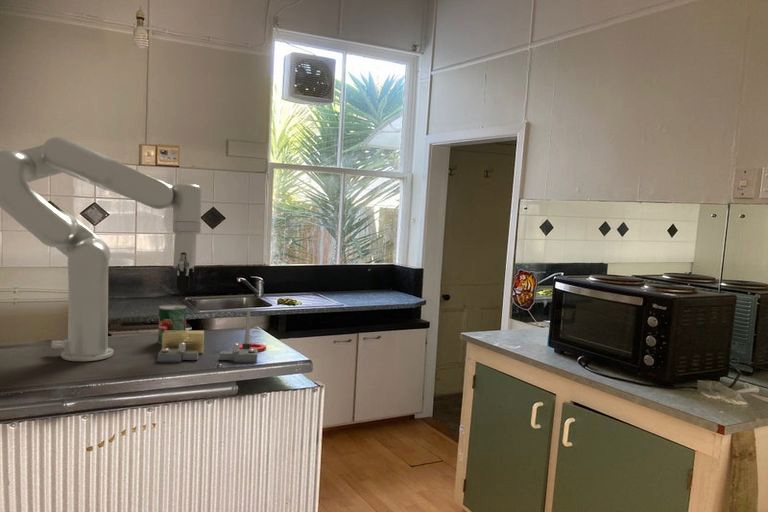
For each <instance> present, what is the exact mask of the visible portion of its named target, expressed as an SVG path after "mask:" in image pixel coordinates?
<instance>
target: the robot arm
mask: <svg viewBox="0 0 768 512" xmlns="http://www.w3.org/2000/svg"><path fill="white" fill-rule="evenodd" d="M62 173H63V174H66V175H68V176H71V177H73V178H75V179H78V180H80V181H83V182H85V183H88V184H90V185H92V186H95V187H97V188H100V189H102V190H104V191H108V192H113V193H115V194H117V195H118V194H119V195H121V196H123V197H126V198H128V199H130V200H133V201H135V202H138V203H140V204H142V205H145V206H147V207H150V208H152V209H155V210H163V209H171V208H172V234H175V237H174V248H173V262H172V265H173V268H174V269H177V276H176V291H187V292H188V291H189V290H190V287H191V286H192V287H193V286H194V285H195V268H194V267H195V265H196V260H197V259H196V258H197V234H199V235H200V234H201V233H202V232H201V229H202V228H201V227H202V226H201V224H202V218H201V217H202V188H201V186H199V185H197V184H194V183H176V184H172V183H167V182H164V181H162V180H160V179H158V178H155V177H152V176H150V175H148V174H146V173H144V172H141V171H139V170H136V169H135V168H132V167H130V166H128V165H125V164H123V163H122V162H121V161H119V160H117V159H114V158H112V157H110V156H107V155H105V154H102V153H100V152H99V151H96V150H93V149H91V148H90V147H87V146H84V145H82V144H80V143H77V142H75V141H73V140H70V139H68V138H66V137H61V136H54V137H53V136H52V137H50V138H48V139H46V140H45V141H44V143H43V144H40V145H38V146H34V147H29V148H25V149H21V150H16V149H10V148H4V149H0V209H2V210H3V211H4V212H5V213H6V214H7V215H9V217H10V216H11V218H12V219H13V220H15V221H16V222H17V223H18V224H19V225H21V226H22V227H23V229H26V230H27V231H28V232H30V234H32V235H33V236H34V237H35V238H36V239H37V240H39V241H40V242H41V244H43V245H46V246H47V247H50V248H56V250H58V252H60V253H61V254H63V255H65V257H67V276H68V278H67V279H68V293H67V294H68V321H67V323H68V326H67V327H68V328H67V329H68V331H67V336H68V337H67V339H65V340H52V341H51V343H50V346H51V348H53V350H61V349H62V350H63V351H62V352H61V354H60V355H61V359H63V360H65V361H69V362H70V361H71V362H94V361H100V360H101V361H102V360H104V359H105V360H106V359H108V358H111V357H112V356H113V355H114V349H113V348H111V347H108V337H109V336H108V332H109V330H108V329H109V327H108V326H109V267H110V266H109V265H110V264H109V263H110V259H111V250H110V247H109V246H108V245H107V243H106V242H105V241H104V240H103V239H102V238H101V237H99V236H98V235H97V234H95V233H94V232H93V231H92V230H91V229H89V228H88V227H87V226H86V225H84V224H83V223H82V222H81V221H80V220H79V219H77V218H76V216H74V215H72V214H71V213H70V212H69V213H68V212H66V211H62V210H59V209H58V208H56V207H55V206H53V205H52V204H51V203H50V202H48V201H47V200H46V199H45V198H44V197H43V196H42V195H40V194H39V193H38V192H37V191H35V190H34V189H32V188H31V187H30V186H29V184H28V183H31V182H34V181H38V180H40V179H41V180H42V179H44V178H48V177H51V176H56V175H60V174H62Z"/></svg>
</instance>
